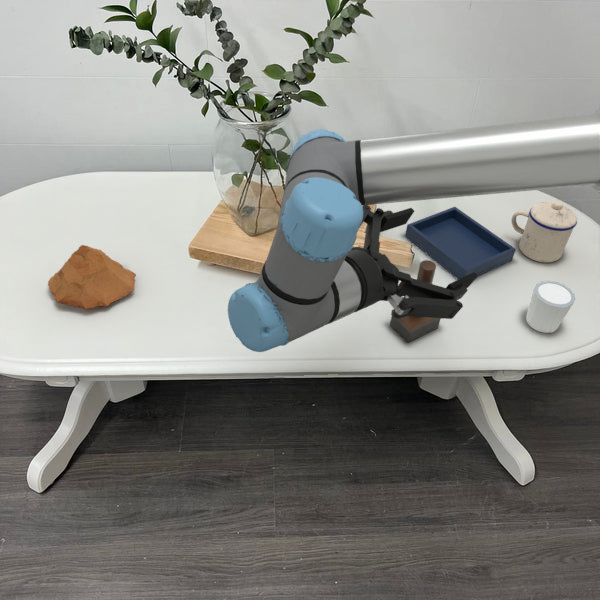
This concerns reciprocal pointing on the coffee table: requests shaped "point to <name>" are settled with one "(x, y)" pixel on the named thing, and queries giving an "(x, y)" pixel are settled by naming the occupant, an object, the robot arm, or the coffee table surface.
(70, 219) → the coffee table surface
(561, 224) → the teacup with lid
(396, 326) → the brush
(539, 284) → the white short cylinder
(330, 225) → the robot arm
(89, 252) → the stone
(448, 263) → the tray
